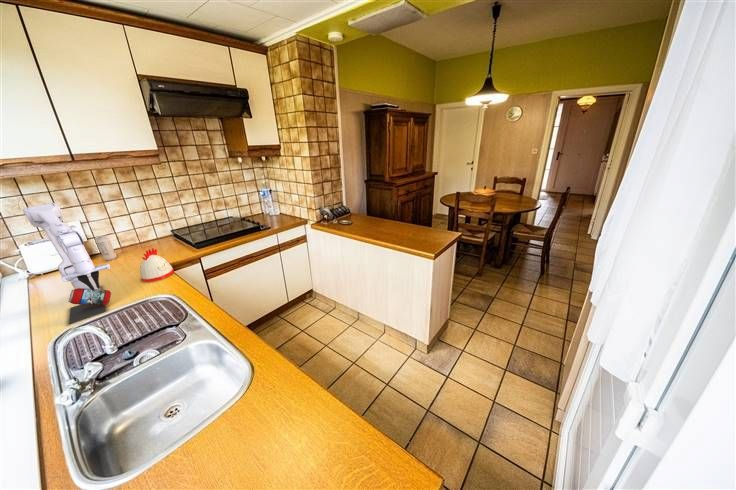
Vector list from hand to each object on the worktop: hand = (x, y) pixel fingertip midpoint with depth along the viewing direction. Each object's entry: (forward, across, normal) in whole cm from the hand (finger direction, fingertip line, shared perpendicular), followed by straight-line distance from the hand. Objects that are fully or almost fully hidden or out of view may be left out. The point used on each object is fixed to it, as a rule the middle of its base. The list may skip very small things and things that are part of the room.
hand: (96, 288), depth 115 cm
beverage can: (+6, +3, 0) cm, 7 cm away
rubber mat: (+9, -6, +2) cm, 10 cm away
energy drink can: (+8, +5, +70) cm, 70 cm away
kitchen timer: (+9, +22, +16) cm, 29 cm away
